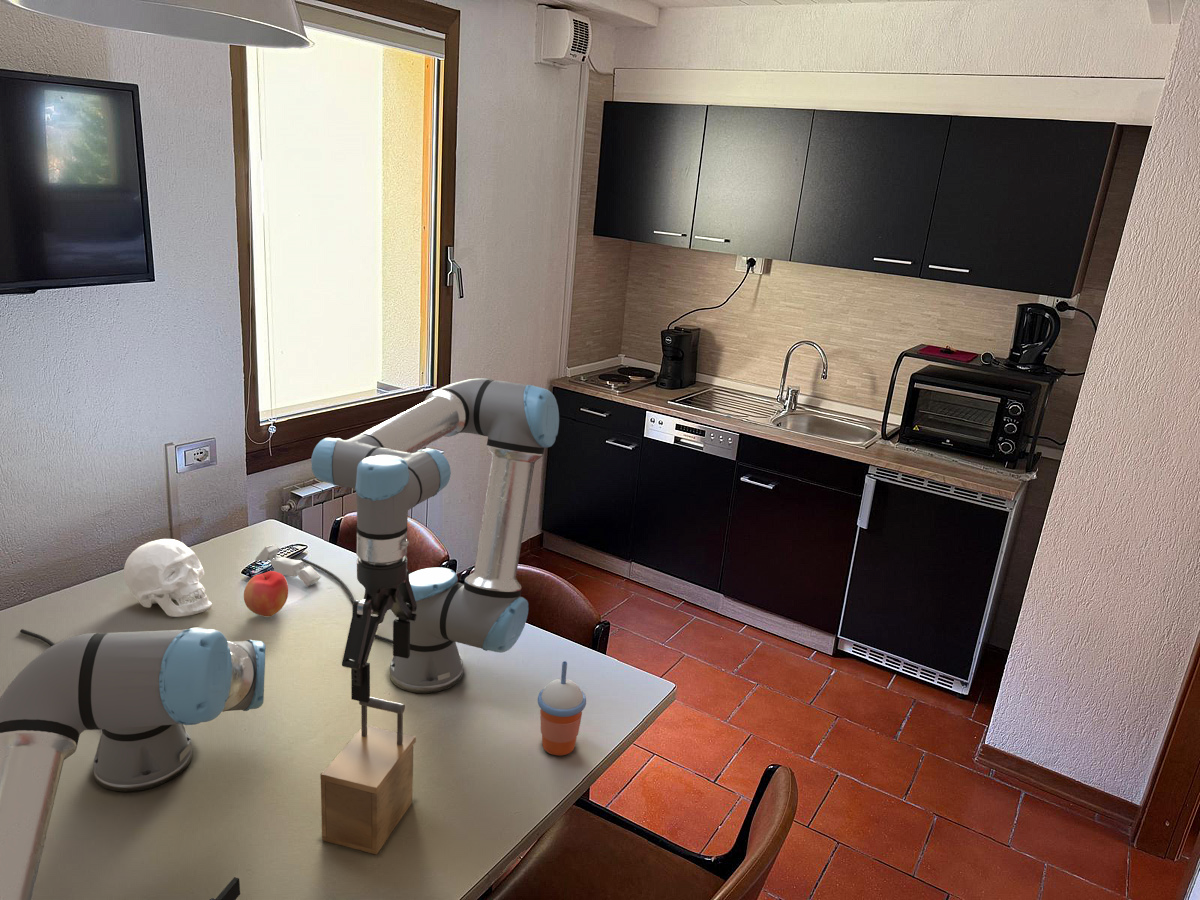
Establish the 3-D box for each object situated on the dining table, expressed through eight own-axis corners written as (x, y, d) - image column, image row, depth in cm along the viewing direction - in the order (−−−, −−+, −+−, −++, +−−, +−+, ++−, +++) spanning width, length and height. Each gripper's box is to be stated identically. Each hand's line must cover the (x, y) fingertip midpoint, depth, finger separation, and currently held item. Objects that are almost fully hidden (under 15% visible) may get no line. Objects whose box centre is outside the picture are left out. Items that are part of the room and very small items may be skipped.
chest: (361, 789, 147) (361, 733, 144) (412, 802, 145) (413, 745, 142) (321, 840, 135) (320, 780, 132) (376, 854, 133) (376, 794, 130)
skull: (190, 626, 193) (187, 561, 188) (111, 606, 198) (107, 543, 194) (231, 603, 205) (229, 541, 201) (156, 585, 211) (152, 525, 206)
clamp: (253, 565, 223) (254, 542, 221) (265, 560, 226) (266, 537, 224) (309, 593, 215) (310, 569, 213) (320, 588, 218) (321, 564, 216)
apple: (273, 600, 207) (272, 562, 204) (297, 613, 202) (296, 575, 199) (237, 614, 200) (234, 575, 197) (261, 628, 194) (259, 588, 191)
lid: (363, 730, 145) (363, 685, 142) (415, 742, 143) (416, 697, 140) (320, 780, 132) (319, 732, 129) (376, 794, 130) (376, 745, 127)
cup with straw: (576, 765, 157) (583, 680, 152) (528, 755, 159) (534, 670, 154) (587, 736, 166) (594, 654, 161) (541, 727, 167) (547, 646, 162)
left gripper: (80, 1034, 100) (203, 896, 120) (269, 1098, 95) (365, 943, 114) (73, 985, 98) (199, 853, 117) (267, 1048, 92) (364, 899, 112)
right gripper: (364, 595, 119) (364, 726, 125) (438, 530, 142) (436, 643, 148) (315, 585, 120) (318, 715, 126) (397, 523, 143) (396, 635, 150)
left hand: (281, 897), depth 116 cm, fingers open, 13 cm apart
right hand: (381, 677), depth 137 cm, fingers open, 13 cm apart
